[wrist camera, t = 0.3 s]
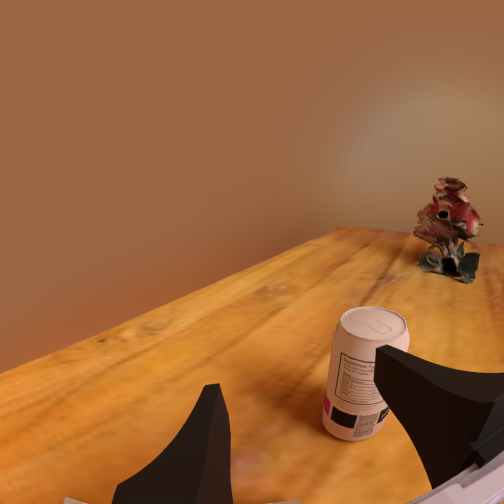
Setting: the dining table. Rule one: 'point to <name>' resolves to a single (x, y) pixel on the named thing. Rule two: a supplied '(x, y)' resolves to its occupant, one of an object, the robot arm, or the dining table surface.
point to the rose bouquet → (449, 230)
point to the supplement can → (359, 371)
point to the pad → (72, 501)
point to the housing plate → (287, 502)
